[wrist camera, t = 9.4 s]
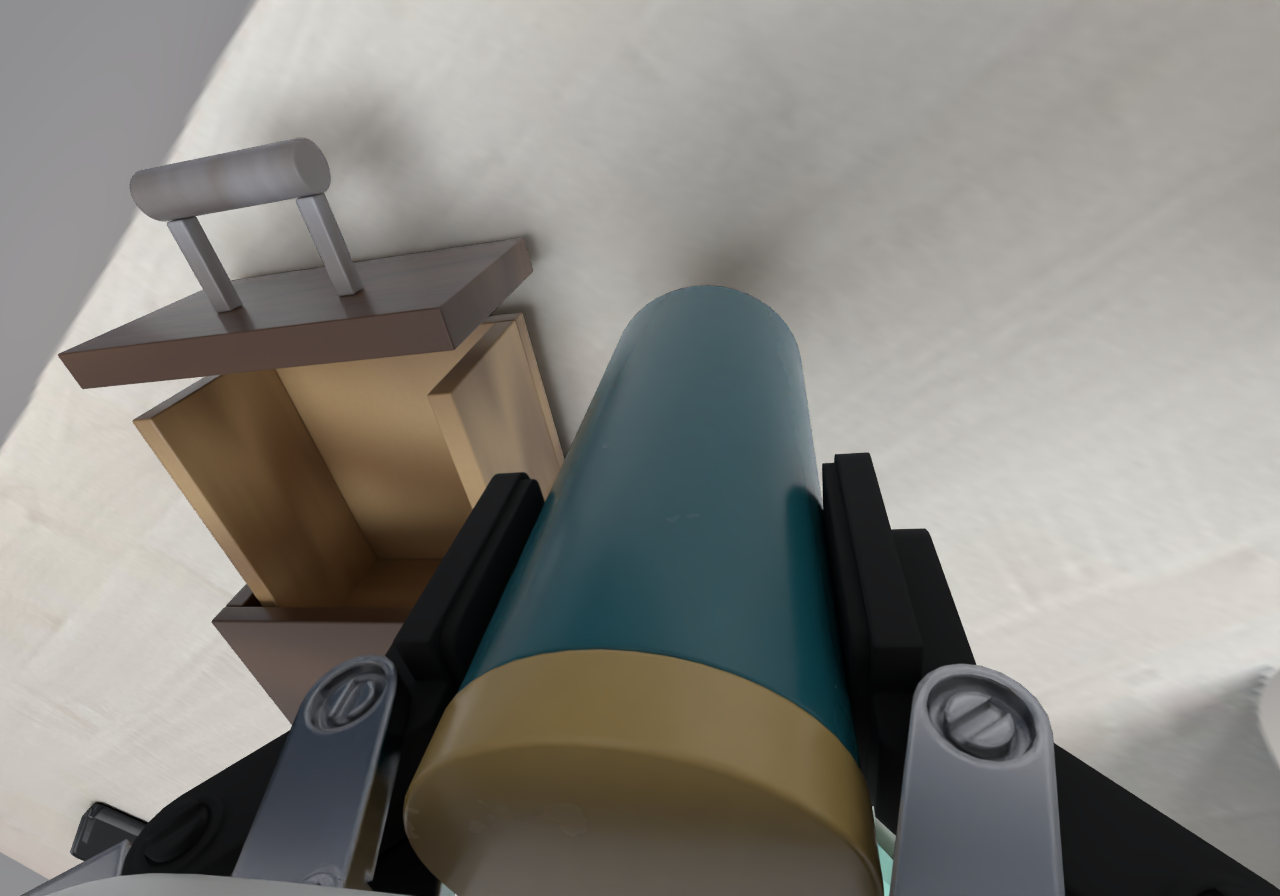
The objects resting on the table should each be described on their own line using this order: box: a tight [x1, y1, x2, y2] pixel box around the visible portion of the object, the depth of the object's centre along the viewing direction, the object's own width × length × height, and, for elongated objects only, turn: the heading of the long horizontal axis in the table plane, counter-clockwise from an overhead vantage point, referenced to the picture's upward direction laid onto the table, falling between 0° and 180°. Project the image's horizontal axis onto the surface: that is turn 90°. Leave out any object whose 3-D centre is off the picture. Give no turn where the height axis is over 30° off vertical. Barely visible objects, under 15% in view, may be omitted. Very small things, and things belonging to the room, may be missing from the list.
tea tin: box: [403, 285, 884, 896], centre depth 11 cm, size 5×5×12 cm
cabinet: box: [212, 584, 413, 724], centre depth 29 cm, size 16×14×9 cm
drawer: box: [58, 138, 564, 607], centre depth 22 cm, size 19×13×7 cm
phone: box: [70, 804, 147, 861], centre depth 63 cm, size 8×1×15 cm
